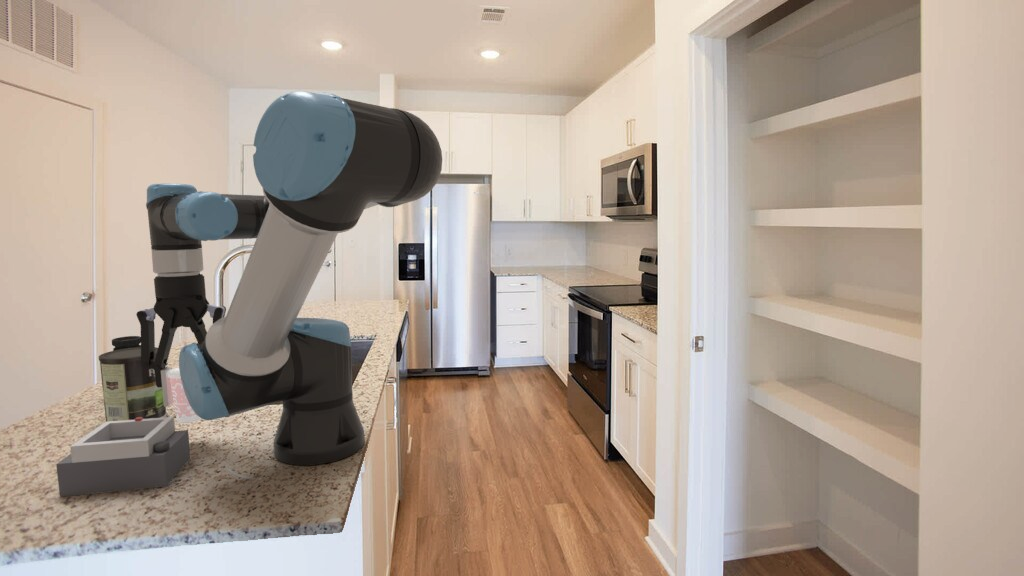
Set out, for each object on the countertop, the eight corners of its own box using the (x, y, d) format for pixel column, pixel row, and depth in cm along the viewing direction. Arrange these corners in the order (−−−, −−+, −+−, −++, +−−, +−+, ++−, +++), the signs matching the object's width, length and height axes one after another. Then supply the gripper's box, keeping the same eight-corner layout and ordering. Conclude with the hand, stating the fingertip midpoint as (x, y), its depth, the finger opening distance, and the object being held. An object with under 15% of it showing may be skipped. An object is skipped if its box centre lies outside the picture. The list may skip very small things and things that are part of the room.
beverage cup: (167, 418, 97) (160, 342, 95) (204, 410, 101) (198, 336, 99) (177, 427, 92) (169, 347, 91) (215, 417, 97) (209, 341, 95)
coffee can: (173, 409, 115) (168, 344, 114) (158, 426, 106) (152, 356, 104) (117, 414, 112) (110, 348, 111) (95, 432, 103) (88, 360, 101)
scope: (109, 345, 114) (99, 338, 121) (115, 408, 116) (105, 398, 122) (154, 339, 120) (142, 333, 127) (159, 399, 121) (147, 390, 128)
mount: (190, 458, 91) (186, 413, 90) (166, 486, 82) (162, 436, 81) (96, 466, 88) (91, 420, 87) (59, 496, 79) (54, 445, 78)
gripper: (243, 270, 100) (252, 392, 102) (128, 274, 95) (140, 400, 98) (232, 273, 92) (242, 404, 95) (106, 277, 88) (119, 414, 91)
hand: (190, 402), depth 96 cm, fingers closed on beverage cup, 6 cm apart
